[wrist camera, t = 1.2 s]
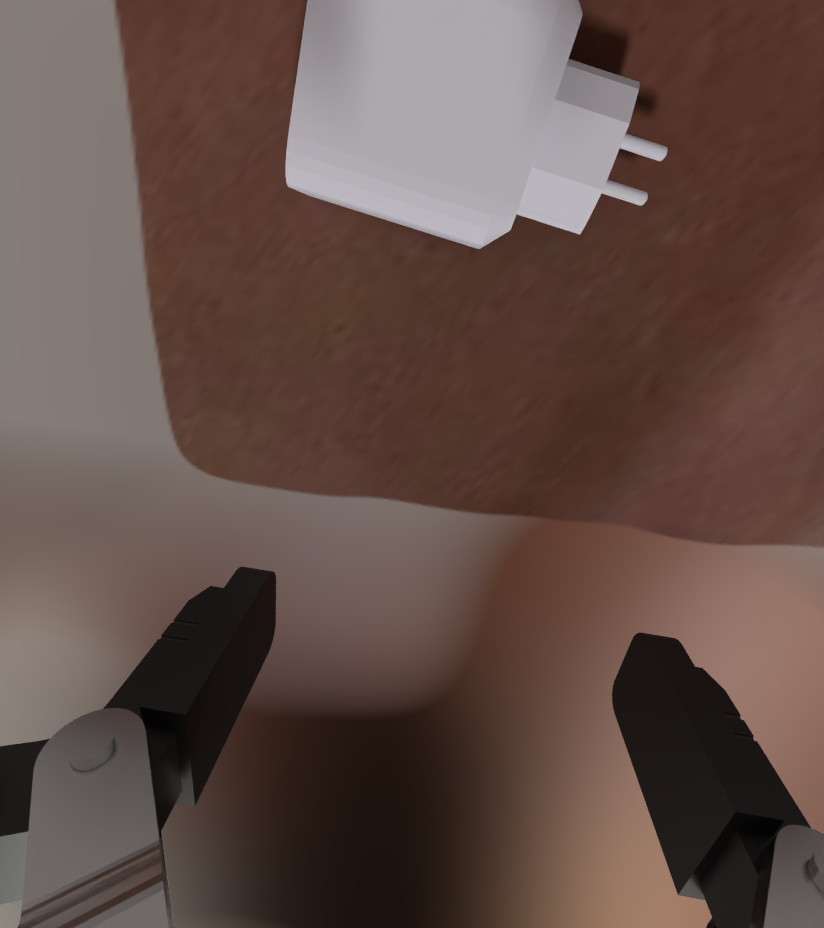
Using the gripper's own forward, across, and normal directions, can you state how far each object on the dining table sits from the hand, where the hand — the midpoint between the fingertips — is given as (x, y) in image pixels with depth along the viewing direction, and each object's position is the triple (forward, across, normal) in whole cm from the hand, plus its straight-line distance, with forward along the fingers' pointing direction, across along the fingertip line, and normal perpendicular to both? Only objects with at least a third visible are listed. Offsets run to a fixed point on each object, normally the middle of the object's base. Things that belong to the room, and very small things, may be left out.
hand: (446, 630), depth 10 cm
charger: (+18, +1, -13) cm, 23 cm away
